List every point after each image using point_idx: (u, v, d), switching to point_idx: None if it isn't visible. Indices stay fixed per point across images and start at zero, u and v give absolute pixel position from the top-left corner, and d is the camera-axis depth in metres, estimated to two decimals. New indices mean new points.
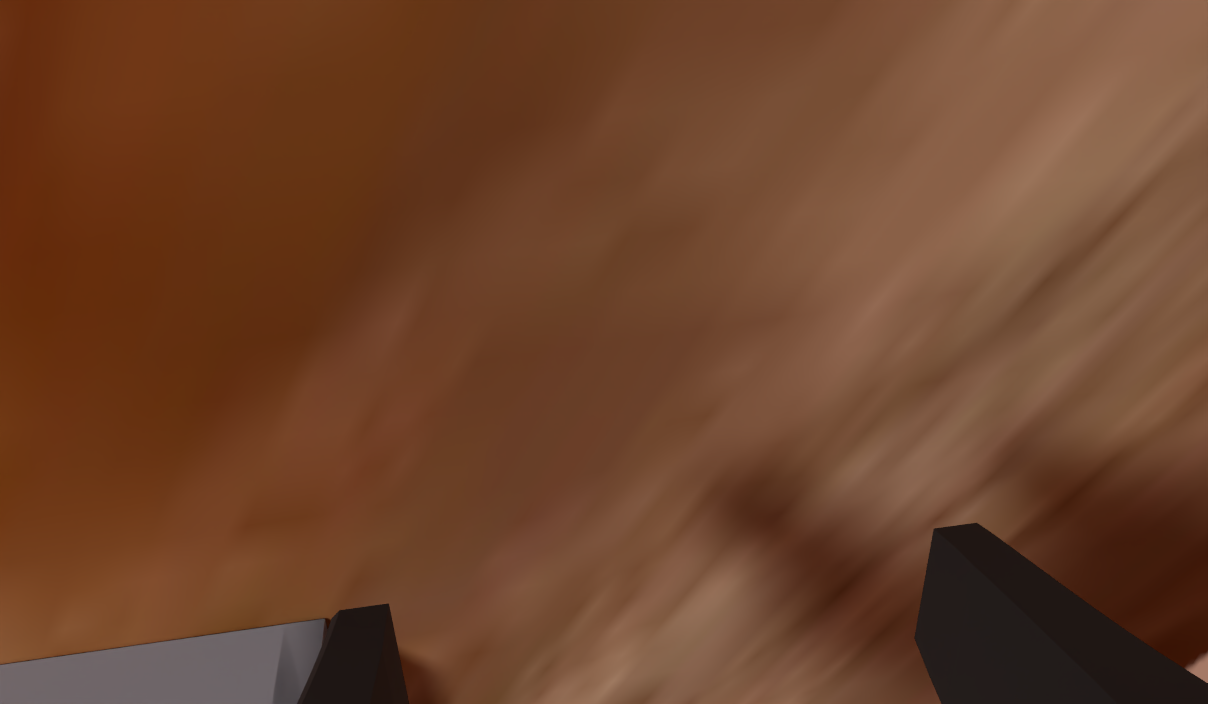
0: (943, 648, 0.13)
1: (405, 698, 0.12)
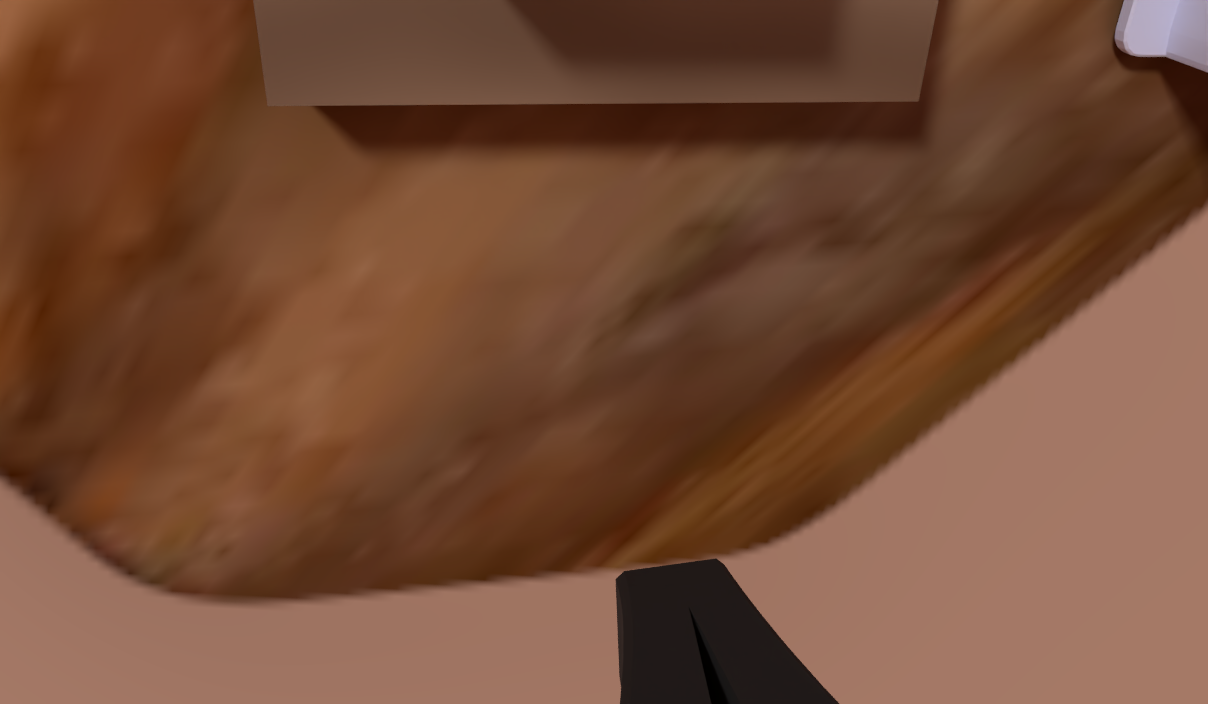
0: None
1: None
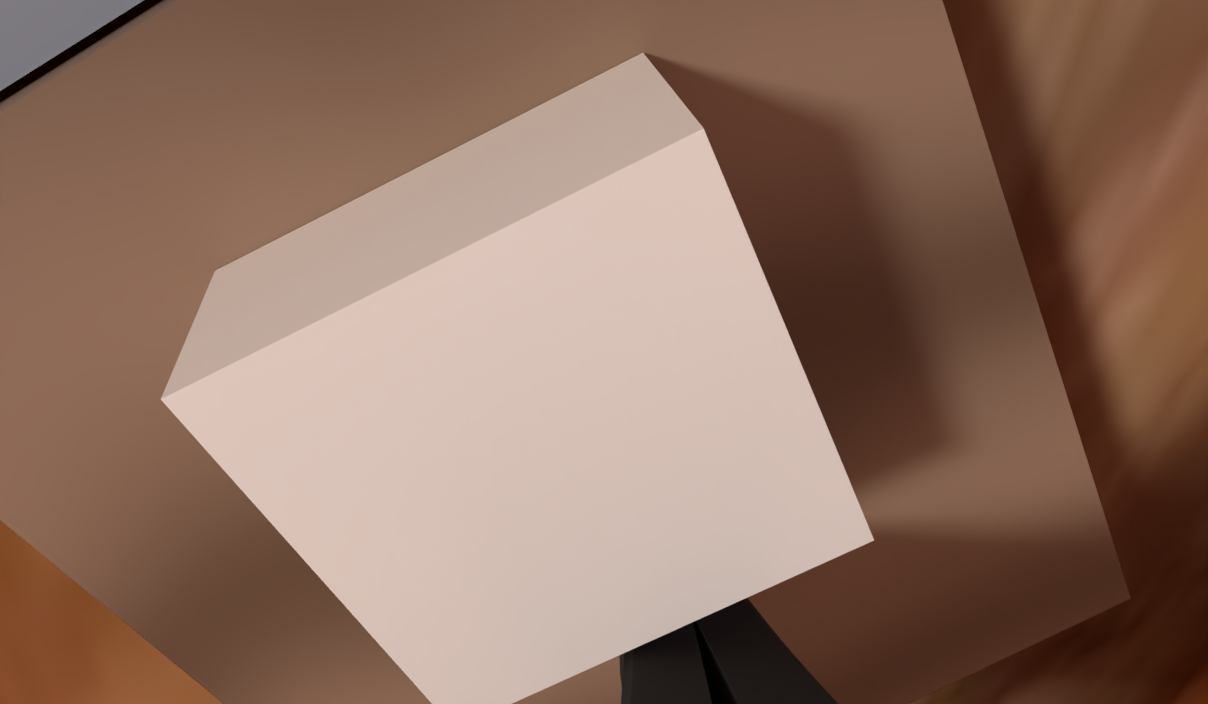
0: None
1: None
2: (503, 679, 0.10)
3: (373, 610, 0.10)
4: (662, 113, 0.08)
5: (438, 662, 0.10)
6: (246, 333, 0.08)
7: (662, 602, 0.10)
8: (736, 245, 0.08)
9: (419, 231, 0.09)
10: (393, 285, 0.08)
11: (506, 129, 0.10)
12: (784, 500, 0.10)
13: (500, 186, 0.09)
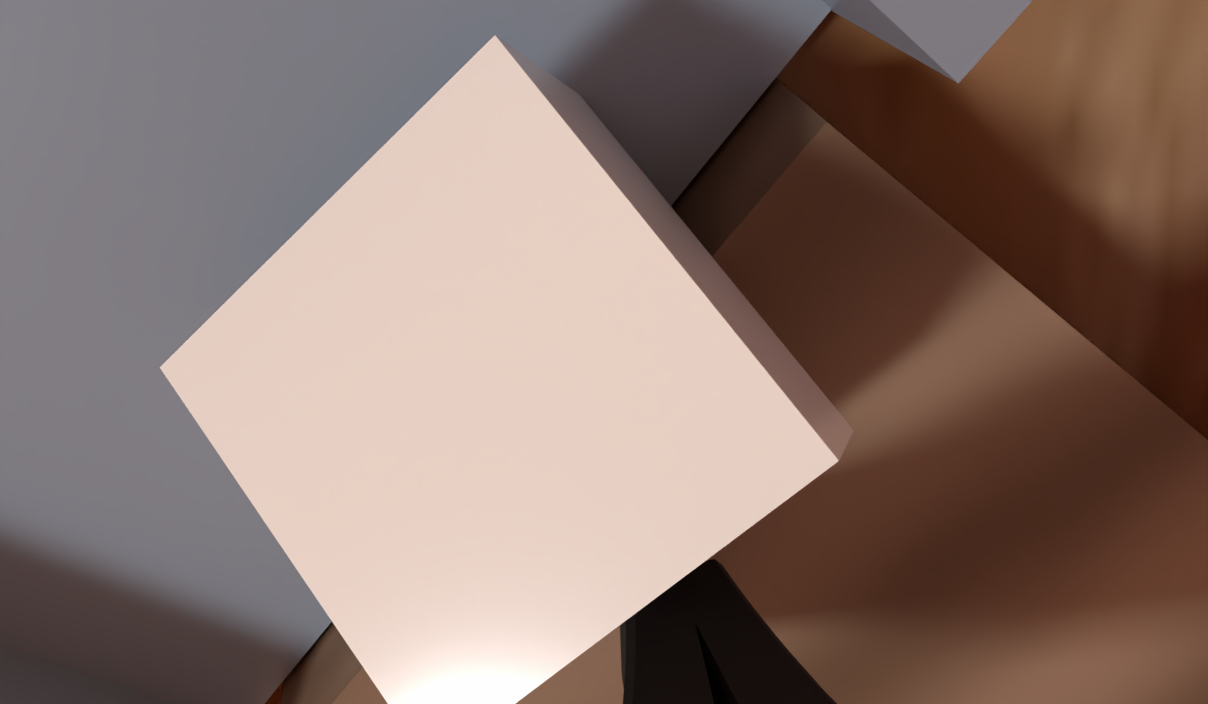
0: None
1: None
2: (465, 691, 0.09)
3: (329, 587, 0.10)
4: None
5: (397, 661, 0.10)
6: None
7: (608, 570, 0.09)
8: (554, 129, 0.09)
9: None
10: (298, 232, 0.10)
11: None
12: (702, 411, 0.09)
13: None
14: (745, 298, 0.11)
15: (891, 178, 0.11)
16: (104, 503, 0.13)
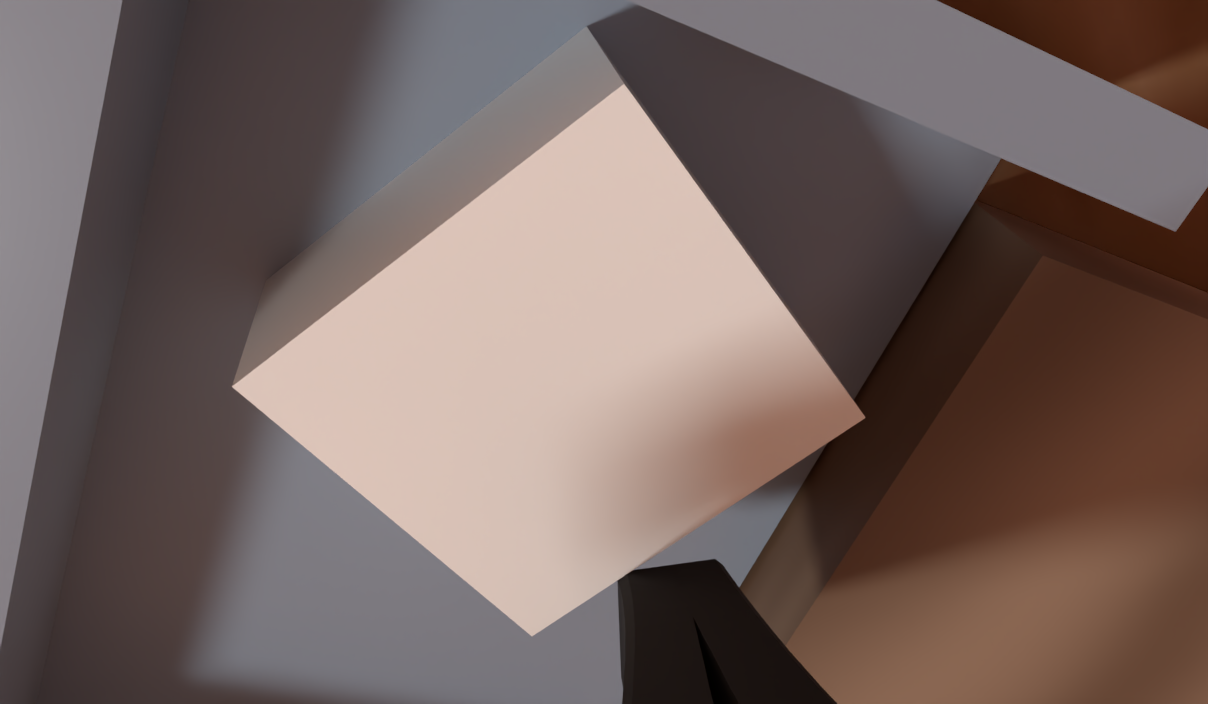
0: None
1: None
2: (563, 587, 0.12)
3: (440, 540, 0.11)
4: (596, 77, 0.10)
5: (504, 579, 0.12)
6: (291, 323, 0.10)
7: (687, 500, 0.12)
8: (676, 178, 0.10)
9: (415, 214, 0.10)
10: (396, 262, 0.10)
11: (481, 115, 0.11)
12: (774, 394, 0.11)
13: (475, 165, 0.10)
14: (727, 222, 0.13)
15: (1108, 283, 0.12)
16: (467, 666, 0.16)
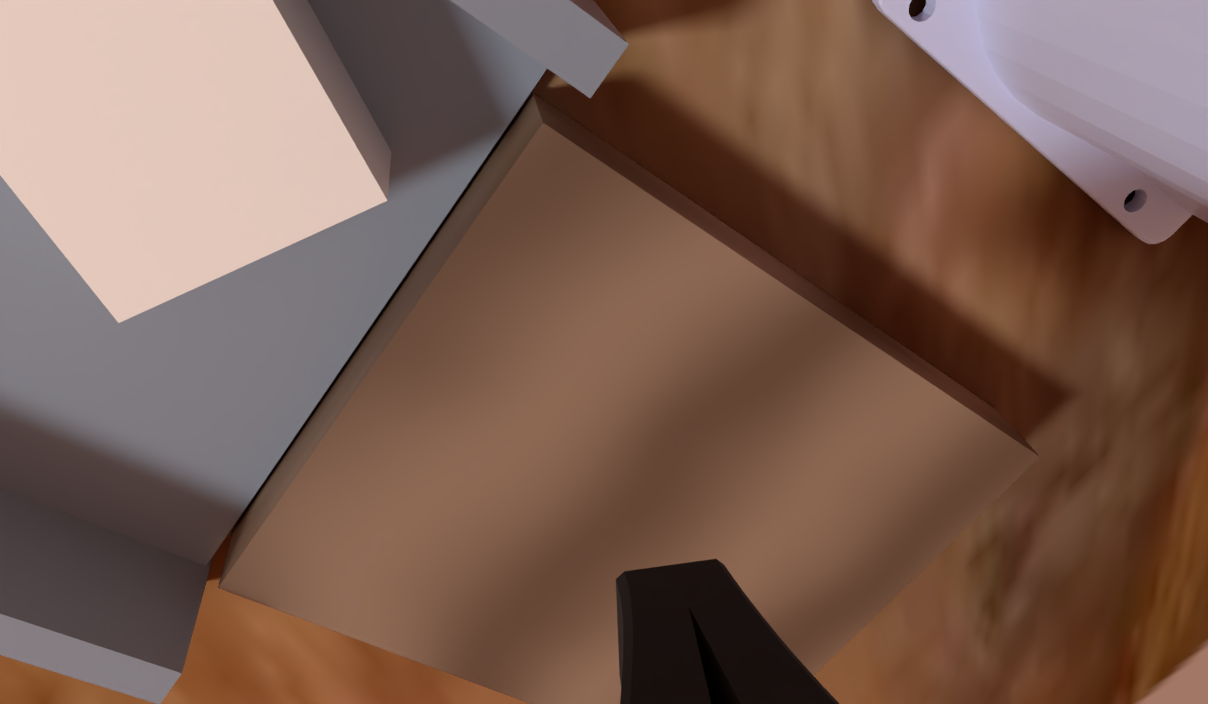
0: None
1: None
2: (146, 285, 0.16)
3: (49, 217, 0.15)
4: None
5: (99, 265, 0.16)
6: None
7: (248, 234, 0.16)
8: None
9: None
10: None
11: None
12: (316, 162, 0.16)
13: None
14: (339, 59, 0.17)
15: (592, 157, 0.17)
16: (99, 394, 0.20)
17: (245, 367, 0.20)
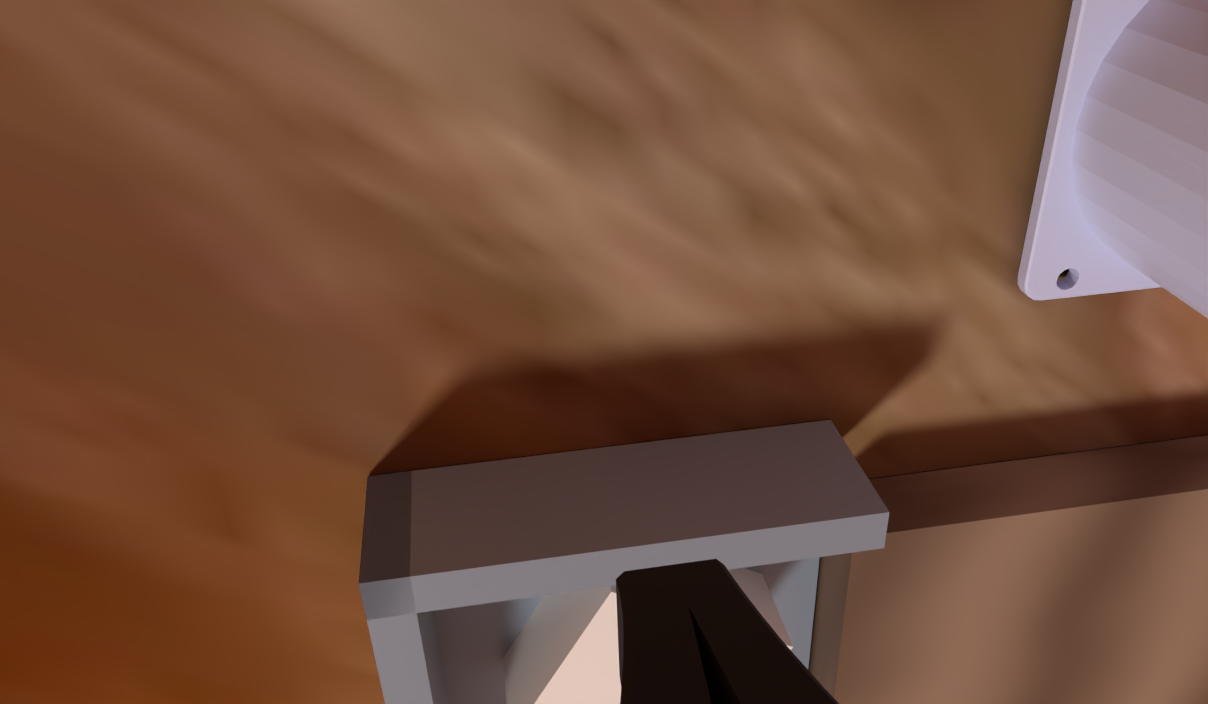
0: None
1: None
2: None
3: None
4: None
5: None
6: (522, 703, 0.23)
7: None
8: None
9: (553, 643, 0.23)
10: (552, 677, 0.22)
11: None
12: None
13: (569, 617, 0.23)
14: None
15: (897, 532, 0.23)
16: None
17: None
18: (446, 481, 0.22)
